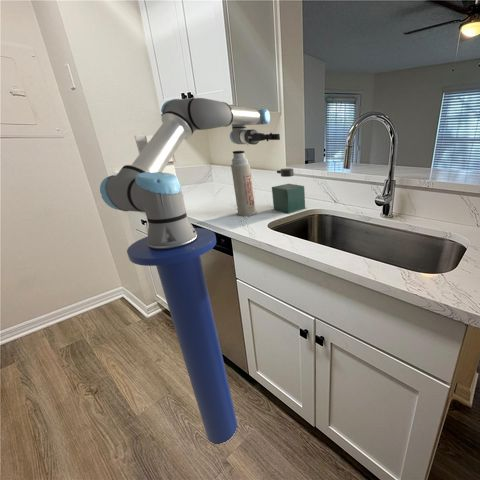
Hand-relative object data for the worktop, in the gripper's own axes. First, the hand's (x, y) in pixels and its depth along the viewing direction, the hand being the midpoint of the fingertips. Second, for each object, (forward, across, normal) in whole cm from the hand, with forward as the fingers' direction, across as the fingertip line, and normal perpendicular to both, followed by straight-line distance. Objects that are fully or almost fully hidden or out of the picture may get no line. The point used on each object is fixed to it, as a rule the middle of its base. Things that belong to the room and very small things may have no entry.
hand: (278, 136), depth 126 cm
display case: (-64, +36, -33) cm, 80 cm away
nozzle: (+9, +6, -17) cm, 20 cm away
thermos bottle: (+1, +23, -33) cm, 41 cm away
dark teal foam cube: (+11, +6, -33) cm, 35 cm away
